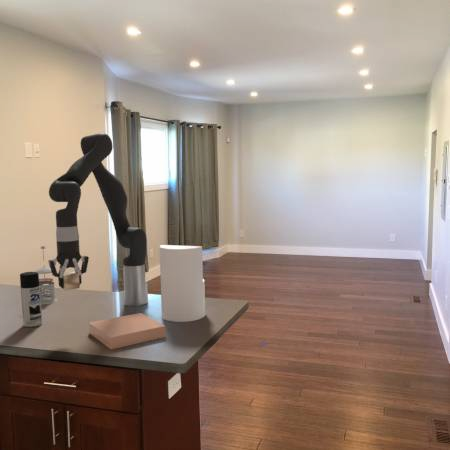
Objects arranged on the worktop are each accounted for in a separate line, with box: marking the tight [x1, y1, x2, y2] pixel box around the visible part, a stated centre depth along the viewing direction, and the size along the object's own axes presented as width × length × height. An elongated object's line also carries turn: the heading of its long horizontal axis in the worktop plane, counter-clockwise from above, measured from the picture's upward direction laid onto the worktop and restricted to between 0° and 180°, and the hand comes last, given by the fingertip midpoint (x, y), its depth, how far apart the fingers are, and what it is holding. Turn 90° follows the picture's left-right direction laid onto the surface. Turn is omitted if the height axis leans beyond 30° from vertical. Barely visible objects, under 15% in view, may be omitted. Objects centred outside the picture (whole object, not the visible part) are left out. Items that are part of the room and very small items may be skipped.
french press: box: [34, 245, 58, 305], centre depth 224 cm, size 10×12×25 cm
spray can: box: [19, 271, 43, 328], centre depth 190 cm, size 7×7×20 cm
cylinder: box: [159, 244, 206, 323], centre depth 199 cm, size 17×17×28 cm
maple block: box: [62, 271, 81, 291], centre depth 178 cm, size 5×5×5 cm
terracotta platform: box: [88, 312, 167, 350], centre depth 178 cm, size 20×20×4 cm
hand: (70, 286), depth 178 cm, fingers closed on maple block, 5 cm apart
